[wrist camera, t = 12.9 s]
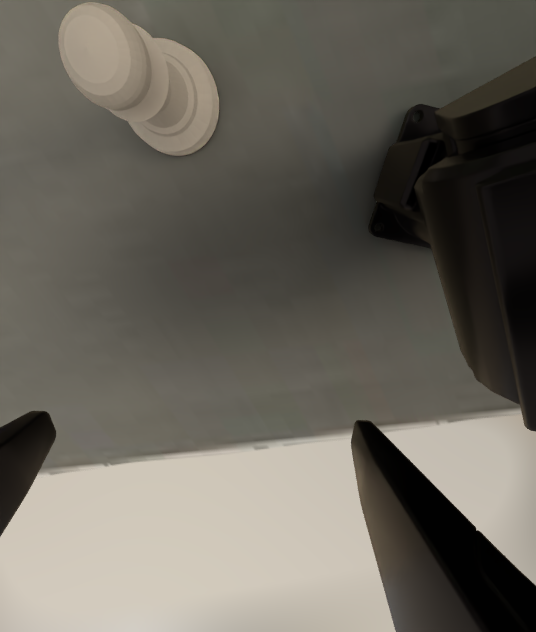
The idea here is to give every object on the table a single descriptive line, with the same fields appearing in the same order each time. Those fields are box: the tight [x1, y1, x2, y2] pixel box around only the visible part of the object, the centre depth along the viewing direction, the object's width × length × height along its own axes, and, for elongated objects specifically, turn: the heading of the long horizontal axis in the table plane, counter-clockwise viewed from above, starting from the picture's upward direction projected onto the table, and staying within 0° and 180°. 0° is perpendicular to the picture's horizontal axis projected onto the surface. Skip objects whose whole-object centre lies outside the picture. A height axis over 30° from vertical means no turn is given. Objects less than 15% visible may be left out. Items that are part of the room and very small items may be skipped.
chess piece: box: [59, 2, 219, 156], centre depth 12 cm, size 5×5×8 cm
